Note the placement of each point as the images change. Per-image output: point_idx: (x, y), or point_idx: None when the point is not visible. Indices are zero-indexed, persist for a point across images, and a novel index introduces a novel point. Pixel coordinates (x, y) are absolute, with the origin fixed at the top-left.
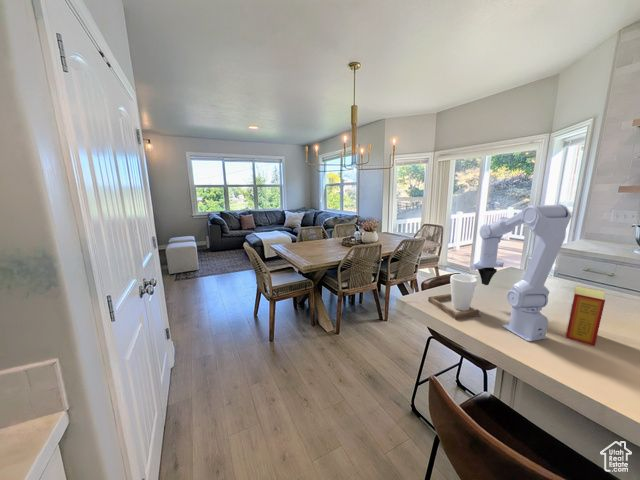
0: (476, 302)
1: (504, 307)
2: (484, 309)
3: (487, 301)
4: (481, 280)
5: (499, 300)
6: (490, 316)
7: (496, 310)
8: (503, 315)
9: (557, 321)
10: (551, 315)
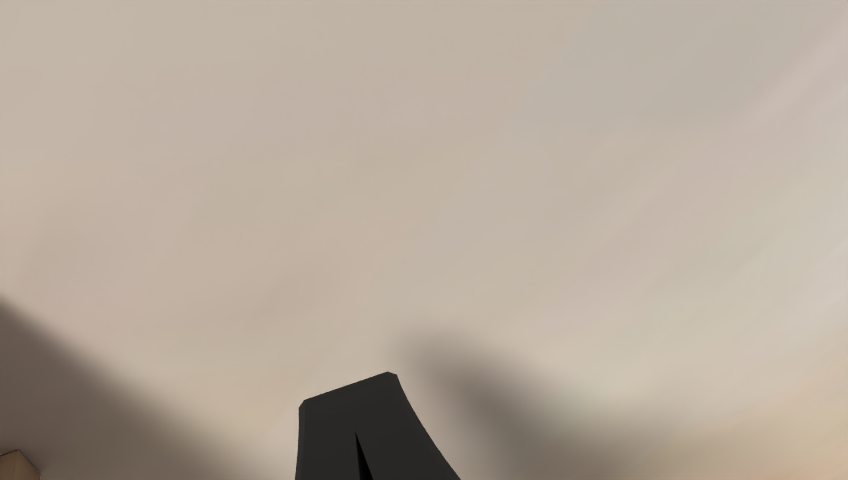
0: (187, 104)
1: (530, 238)
2: (201, 324)
3: (422, 54)
4: (297, 475)
5: (655, 7)
6: (183, 467)
7: (358, 328)
8: None
9: (760, 431)
10: (833, 346)
